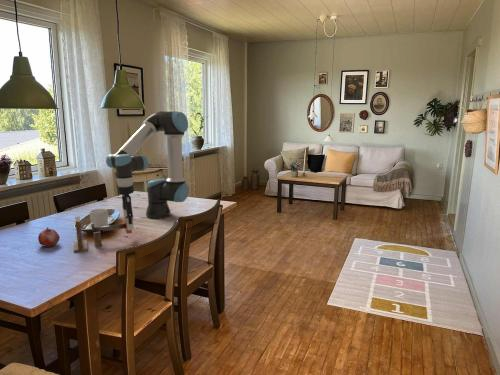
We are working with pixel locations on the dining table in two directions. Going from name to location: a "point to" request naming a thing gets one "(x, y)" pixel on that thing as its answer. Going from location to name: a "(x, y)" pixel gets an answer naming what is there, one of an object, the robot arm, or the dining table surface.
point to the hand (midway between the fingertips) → (128, 225)
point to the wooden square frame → (79, 238)
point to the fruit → (48, 237)
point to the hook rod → (111, 227)
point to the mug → (99, 217)
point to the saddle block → (97, 239)
